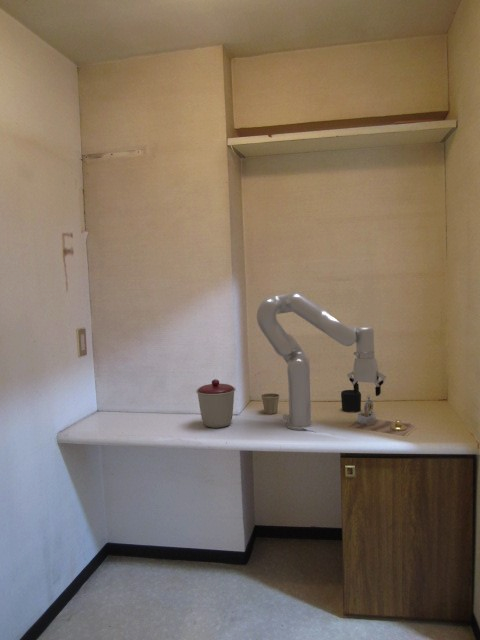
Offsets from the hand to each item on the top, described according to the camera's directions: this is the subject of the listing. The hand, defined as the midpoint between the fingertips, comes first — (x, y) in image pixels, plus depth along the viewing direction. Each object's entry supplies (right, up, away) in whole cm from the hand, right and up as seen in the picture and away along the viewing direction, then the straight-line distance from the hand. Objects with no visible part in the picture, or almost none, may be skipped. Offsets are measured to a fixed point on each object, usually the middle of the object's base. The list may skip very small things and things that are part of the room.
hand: (367, 394), depth 211 cm
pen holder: (-1, -13, +24) cm, 27 cm away
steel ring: (0, -13, +1) cm, 13 cm away
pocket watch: (+7, -13, +15) cm, 21 cm away
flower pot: (-40, -14, +30) cm, 52 cm away
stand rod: (0, -13, +1) cm, 13 cm away
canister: (-66, -16, +13) cm, 69 cm away
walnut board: (+6, -14, -3) cm, 16 cm away
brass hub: (+11, -13, -7) cm, 19 cm away
